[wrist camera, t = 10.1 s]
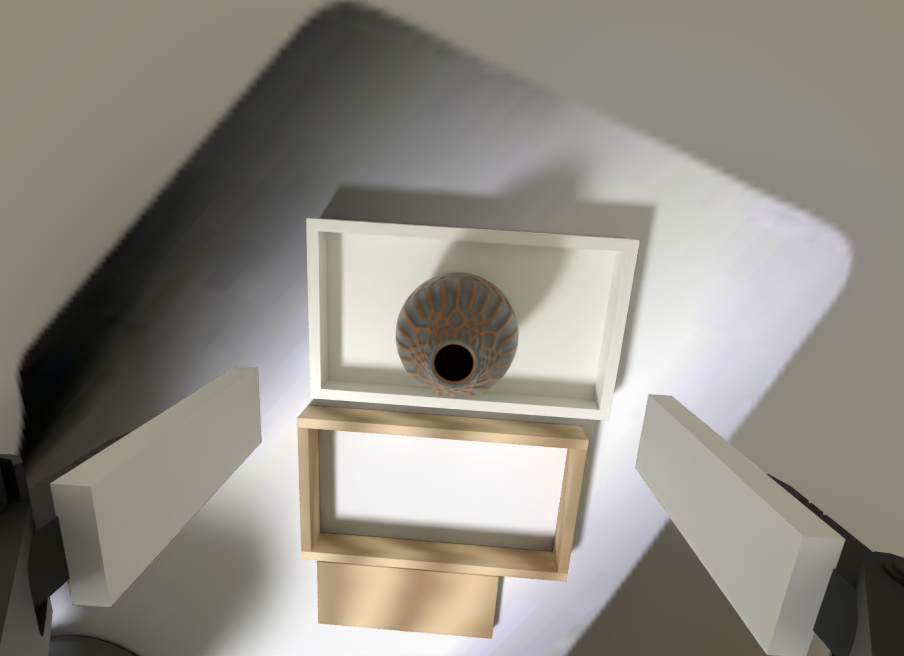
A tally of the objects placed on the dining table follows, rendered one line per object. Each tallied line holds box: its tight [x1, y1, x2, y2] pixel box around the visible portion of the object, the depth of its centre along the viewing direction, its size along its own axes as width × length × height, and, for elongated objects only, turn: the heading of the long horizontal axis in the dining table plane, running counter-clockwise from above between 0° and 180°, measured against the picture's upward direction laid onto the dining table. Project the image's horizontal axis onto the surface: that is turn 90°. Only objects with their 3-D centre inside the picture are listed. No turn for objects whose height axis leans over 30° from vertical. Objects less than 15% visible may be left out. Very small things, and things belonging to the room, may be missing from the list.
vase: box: [396, 272, 519, 398], centre depth 23 cm, size 7×7×9 cm
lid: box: [317, 561, 499, 639], centre depth 34 cm, size 14×6×1 cm, turn 86°
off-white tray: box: [306, 218, 640, 421], centre depth 27 cm, size 19×11×2 cm, turn 86°
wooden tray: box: [297, 405, 589, 582], centre depth 31 cm, size 19×11×2 cm, turn 86°
